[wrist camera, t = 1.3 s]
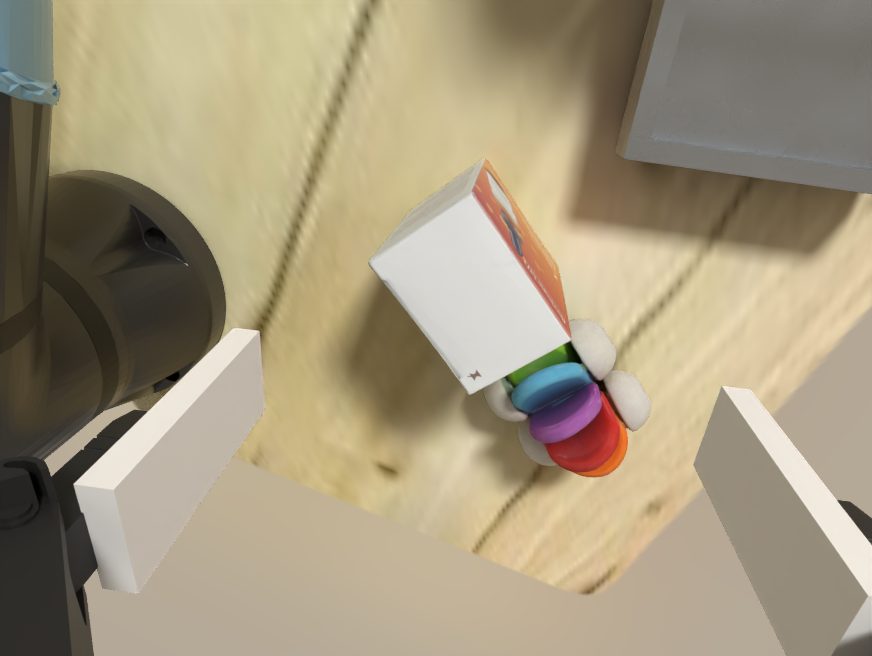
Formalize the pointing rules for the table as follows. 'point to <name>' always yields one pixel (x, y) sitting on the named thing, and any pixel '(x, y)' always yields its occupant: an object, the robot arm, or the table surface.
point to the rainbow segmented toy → (573, 404)
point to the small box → (476, 279)
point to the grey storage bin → (756, 90)
